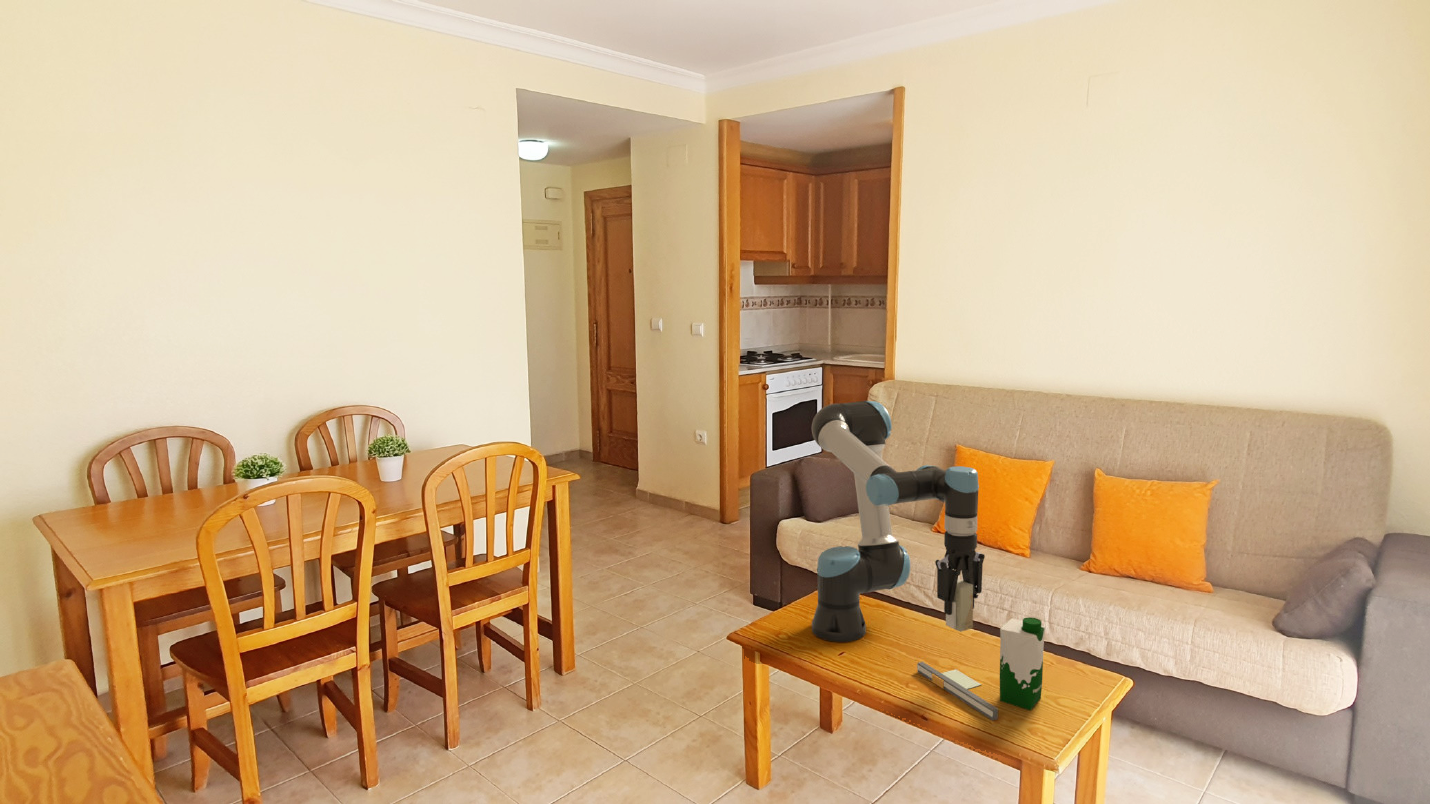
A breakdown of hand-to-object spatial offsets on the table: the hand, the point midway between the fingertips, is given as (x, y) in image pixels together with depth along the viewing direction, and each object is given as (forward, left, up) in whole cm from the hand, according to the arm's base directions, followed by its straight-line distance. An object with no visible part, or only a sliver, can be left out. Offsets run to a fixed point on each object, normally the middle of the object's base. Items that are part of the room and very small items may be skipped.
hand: (958, 623), depth 199 cm
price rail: (+5, -5, -15) cm, 16 cm away
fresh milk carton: (+14, +6, -15) cm, 21 cm away
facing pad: (0, 0, -15) cm, 15 cm away
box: (0, 0, -1) cm, 1 cm away
